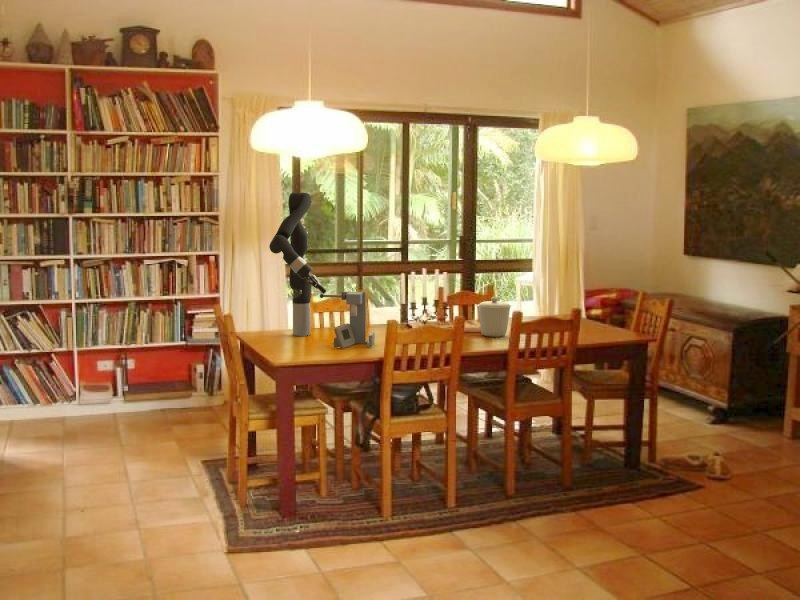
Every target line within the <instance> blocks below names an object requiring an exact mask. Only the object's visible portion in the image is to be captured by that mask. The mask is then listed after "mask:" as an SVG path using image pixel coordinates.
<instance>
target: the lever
mask: <svg viewBox="0 0 800 600" xmlns="http://www.w3.org/2000/svg"><path fill="white" fill-rule="evenodd" d="M319 298H320V299H323V298H340V299H342V298H343V299H346V294H343V295H342V294H325V293H324V294H323V293H320V294H319Z"/></svg>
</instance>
